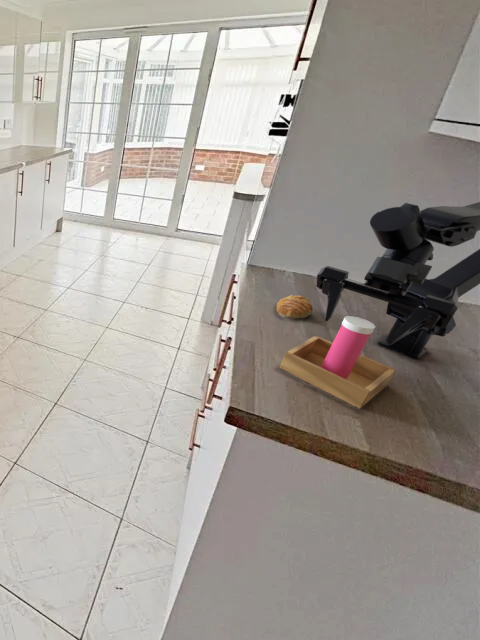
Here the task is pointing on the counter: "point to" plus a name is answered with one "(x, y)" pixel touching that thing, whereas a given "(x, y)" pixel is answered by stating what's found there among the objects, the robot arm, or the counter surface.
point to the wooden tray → (354, 390)
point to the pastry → (294, 307)
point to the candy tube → (348, 345)
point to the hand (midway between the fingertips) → (356, 331)
